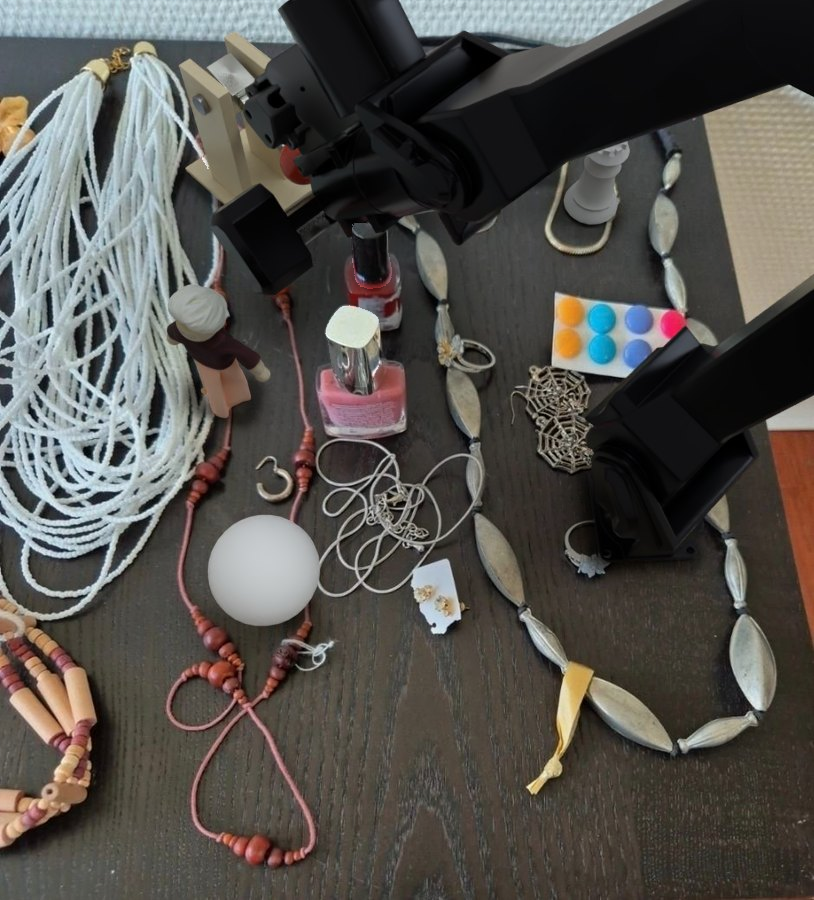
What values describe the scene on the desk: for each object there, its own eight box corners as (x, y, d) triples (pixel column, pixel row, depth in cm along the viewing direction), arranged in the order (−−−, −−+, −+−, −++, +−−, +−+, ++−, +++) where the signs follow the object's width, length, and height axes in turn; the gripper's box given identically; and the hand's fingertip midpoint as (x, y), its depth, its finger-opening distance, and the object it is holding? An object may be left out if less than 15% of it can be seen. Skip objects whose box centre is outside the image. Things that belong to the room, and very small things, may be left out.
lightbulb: (337, 562, 52) (321, 504, 42) (324, 655, 50) (304, 618, 39) (245, 553, 52) (209, 493, 42) (228, 645, 50) (184, 606, 40)
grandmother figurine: (173, 411, 57) (115, 310, 45) (192, 366, 58) (140, 258, 47) (275, 435, 56) (242, 338, 44) (291, 388, 57) (264, 284, 46)
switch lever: (331, 178, 58) (336, 152, 55) (298, 201, 57) (301, 177, 54) (236, 74, 58) (235, 44, 55) (202, 96, 57) (199, 66, 54)
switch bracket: (323, 193, 65) (307, 71, 54) (258, 240, 63) (228, 123, 52) (253, 134, 68) (224, 7, 57) (188, 178, 66) (146, 55, 55)
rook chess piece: (570, 241, 63) (592, 167, 56) (551, 199, 65) (570, 122, 57) (622, 229, 64) (651, 155, 56) (602, 188, 65) (627, 111, 58)
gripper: (441, -42, 46) (331, 33, 60) (189, 121, 41) (130, 164, 54) (522, 134, 51) (404, 167, 64) (307, 301, 46) (226, 299, 59)
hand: (297, 195), depth 60 cm, fingers open, 9 cm apart
